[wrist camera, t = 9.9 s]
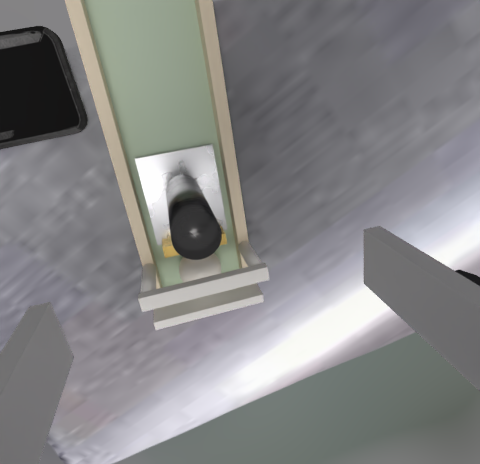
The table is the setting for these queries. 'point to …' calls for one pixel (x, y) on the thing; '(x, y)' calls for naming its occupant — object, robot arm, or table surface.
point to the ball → (199, 268)
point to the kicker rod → (184, 200)
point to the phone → (36, 88)
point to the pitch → (167, 136)
